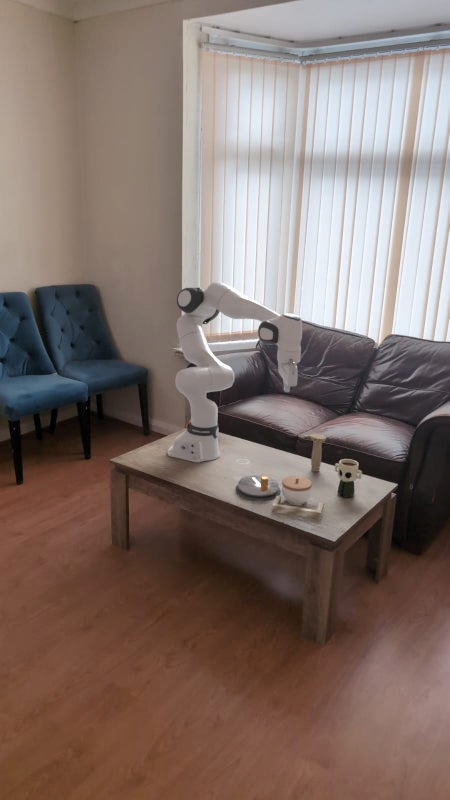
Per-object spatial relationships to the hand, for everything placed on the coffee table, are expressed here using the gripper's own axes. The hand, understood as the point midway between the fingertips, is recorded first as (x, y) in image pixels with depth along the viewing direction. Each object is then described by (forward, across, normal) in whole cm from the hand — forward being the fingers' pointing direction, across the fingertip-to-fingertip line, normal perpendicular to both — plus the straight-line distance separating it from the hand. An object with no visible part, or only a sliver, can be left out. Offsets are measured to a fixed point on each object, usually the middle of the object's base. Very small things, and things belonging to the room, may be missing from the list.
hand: (286, 391), depth 239 cm
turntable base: (+34, -17, +12) cm, 40 cm away
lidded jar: (+34, -26, -1) cm, 43 cm away
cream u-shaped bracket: (+34, -33, 0) cm, 47 cm away
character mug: (+34, -21, -21) cm, 45 cm away
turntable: (+34, -17, +12) cm, 40 cm away
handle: (+34, +1, -14) cm, 37 cm away
